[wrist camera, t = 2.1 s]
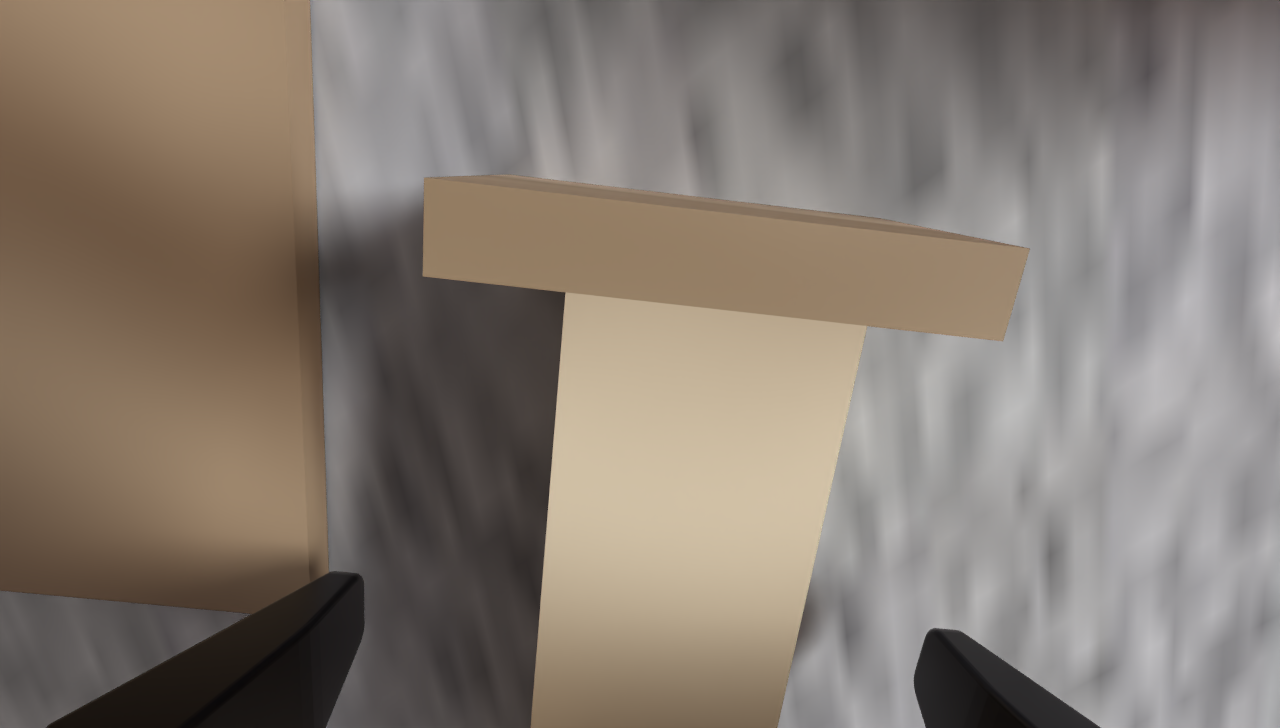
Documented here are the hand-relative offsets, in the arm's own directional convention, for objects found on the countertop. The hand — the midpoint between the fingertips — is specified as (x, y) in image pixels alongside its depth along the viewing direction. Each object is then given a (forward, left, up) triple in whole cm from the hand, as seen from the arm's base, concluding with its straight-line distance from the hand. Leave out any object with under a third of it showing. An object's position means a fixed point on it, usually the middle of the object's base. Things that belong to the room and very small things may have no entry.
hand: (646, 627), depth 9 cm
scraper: (0, 0, -1) cm, 1 cm away
